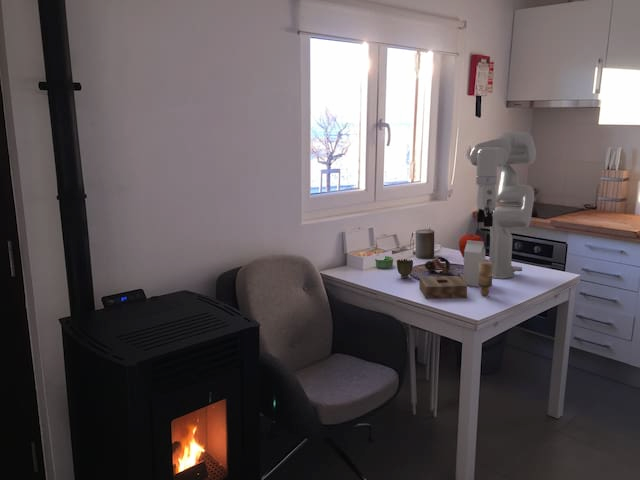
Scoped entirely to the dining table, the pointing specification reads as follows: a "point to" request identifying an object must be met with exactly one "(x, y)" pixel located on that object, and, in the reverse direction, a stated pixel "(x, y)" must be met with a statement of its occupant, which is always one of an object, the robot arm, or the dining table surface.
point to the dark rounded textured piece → (404, 267)
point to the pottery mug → (438, 264)
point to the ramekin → (385, 262)
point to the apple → (464, 241)
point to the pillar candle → (425, 243)
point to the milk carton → (473, 262)
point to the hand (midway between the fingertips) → (484, 224)
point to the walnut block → (443, 287)
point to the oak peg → (485, 277)
